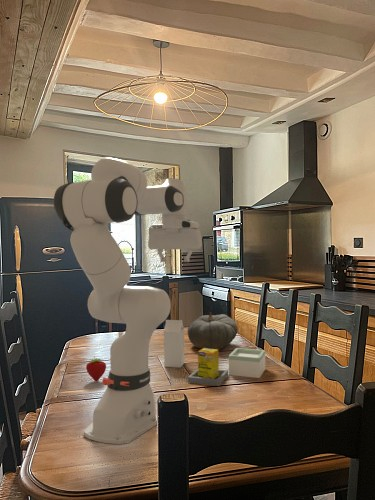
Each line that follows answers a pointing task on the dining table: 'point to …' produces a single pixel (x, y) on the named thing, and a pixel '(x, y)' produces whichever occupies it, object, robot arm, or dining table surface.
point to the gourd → (212, 331)
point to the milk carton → (174, 343)
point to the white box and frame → (237, 366)
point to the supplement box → (208, 363)
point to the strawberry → (96, 368)
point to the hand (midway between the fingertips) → (174, 261)
